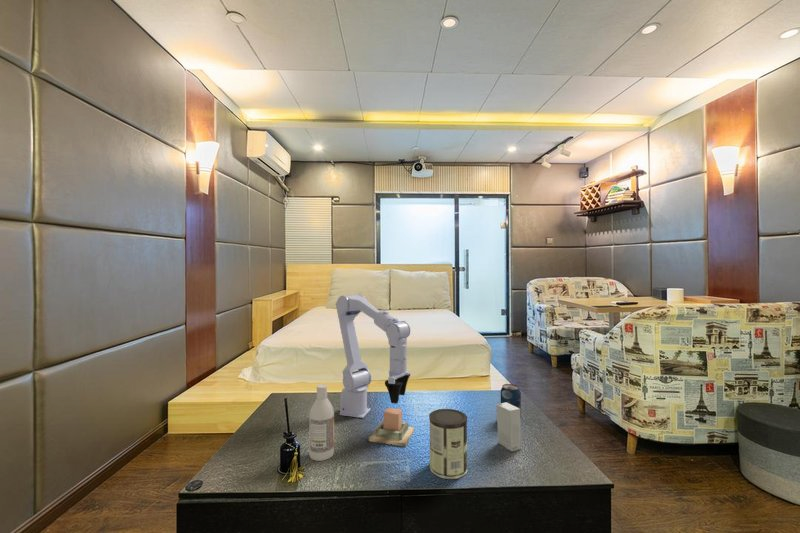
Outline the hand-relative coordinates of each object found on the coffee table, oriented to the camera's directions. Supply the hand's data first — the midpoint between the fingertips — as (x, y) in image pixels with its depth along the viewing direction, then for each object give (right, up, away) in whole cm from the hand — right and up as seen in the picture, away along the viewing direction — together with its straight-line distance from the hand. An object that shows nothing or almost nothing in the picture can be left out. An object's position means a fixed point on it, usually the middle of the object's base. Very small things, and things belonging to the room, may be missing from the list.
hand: (398, 398), depth 116 cm
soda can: (+40, -11, +7) cm, 42 cm away
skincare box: (+34, -11, -11) cm, 37 cm away
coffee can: (+14, -10, -22) cm, 28 cm away
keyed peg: (-2, -9, -4) cm, 10 cm away
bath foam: (-22, -10, -16) cm, 29 cm away
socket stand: (-2, -10, -4) cm, 11 cm away
